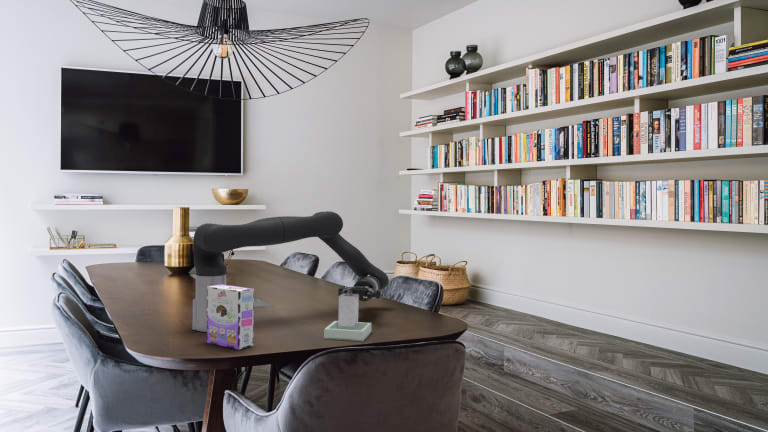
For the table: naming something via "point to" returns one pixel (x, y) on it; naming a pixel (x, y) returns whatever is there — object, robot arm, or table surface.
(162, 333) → the table surface
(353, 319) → the bored block
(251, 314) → the candy box
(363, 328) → the tray
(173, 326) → the table surface
